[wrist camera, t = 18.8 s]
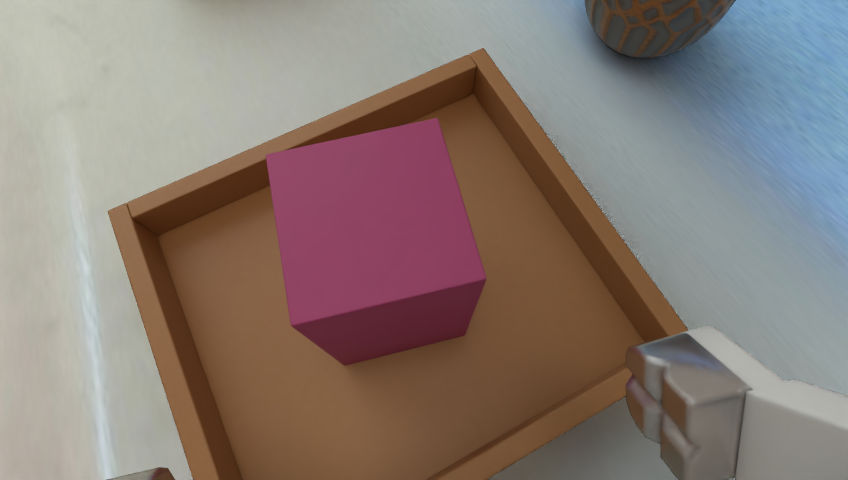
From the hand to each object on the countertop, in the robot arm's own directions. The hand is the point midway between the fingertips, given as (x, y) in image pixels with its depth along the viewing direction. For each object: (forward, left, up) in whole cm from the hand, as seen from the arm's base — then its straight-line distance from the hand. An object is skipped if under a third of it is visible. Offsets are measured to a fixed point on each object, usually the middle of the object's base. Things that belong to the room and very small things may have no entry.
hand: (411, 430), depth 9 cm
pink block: (-1, -5, -11) cm, 12 cm away
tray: (-1, -5, -11) cm, 13 cm away
